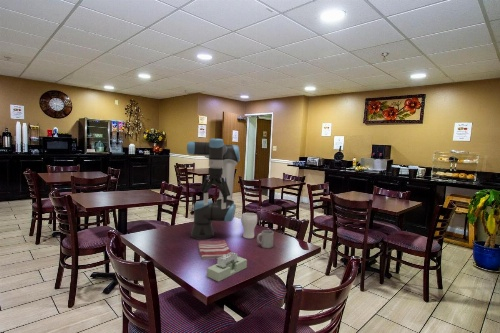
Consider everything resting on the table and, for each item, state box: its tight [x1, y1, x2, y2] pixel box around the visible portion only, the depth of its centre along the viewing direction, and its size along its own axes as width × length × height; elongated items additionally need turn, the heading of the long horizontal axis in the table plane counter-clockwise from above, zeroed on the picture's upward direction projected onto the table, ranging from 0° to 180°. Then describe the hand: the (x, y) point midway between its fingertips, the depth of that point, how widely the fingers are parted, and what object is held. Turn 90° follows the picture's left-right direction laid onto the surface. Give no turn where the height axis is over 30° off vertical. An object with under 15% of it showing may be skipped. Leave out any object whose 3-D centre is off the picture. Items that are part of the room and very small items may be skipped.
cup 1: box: [240, 212, 258, 239], centre depth 187 cm, size 11×11×15 cm
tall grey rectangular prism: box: [216, 251, 238, 269], centre depth 134 cm, size 10×4×7 cm, turn 142°
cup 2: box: [256, 229, 275, 249], centre depth 171 cm, size 7×10×9 cm
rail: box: [206, 255, 248, 282], centre depth 134 cm, size 20×7×4 cm, turn 142°
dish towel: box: [197, 239, 232, 260], centre depth 161 cm, size 17×23×3 cm
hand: (214, 206), depth 153 cm, fingers open, 13 cm apart
